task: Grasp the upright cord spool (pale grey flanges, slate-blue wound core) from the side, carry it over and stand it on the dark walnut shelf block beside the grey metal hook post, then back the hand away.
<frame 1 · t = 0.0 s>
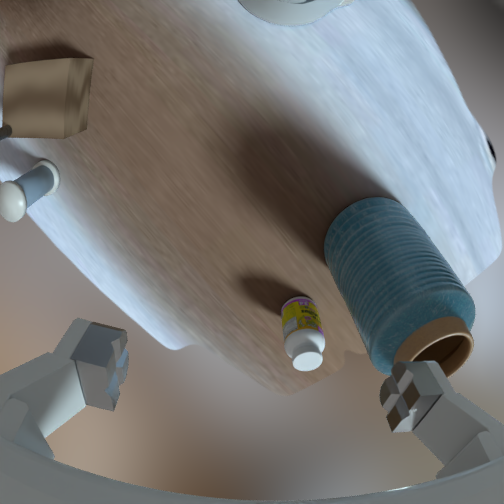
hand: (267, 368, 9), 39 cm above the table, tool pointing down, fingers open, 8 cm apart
supplement bottle: (298, 308, 58), on the table
cord spool: (46, 177, 44), on the table
walnut shelf block: (57, 94, 38), on the table
vase: (369, 239, 51), on the table
hook post: (33, 121, 39), resting on walnut shelf block
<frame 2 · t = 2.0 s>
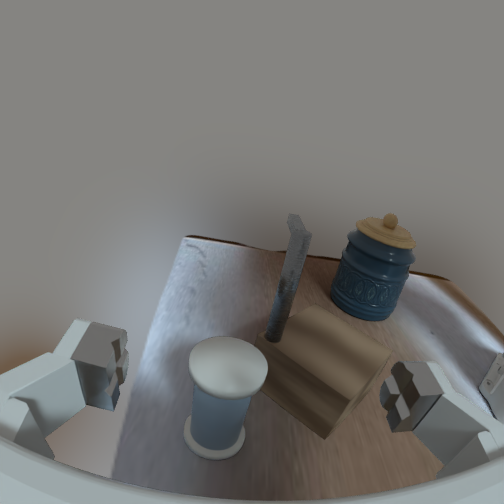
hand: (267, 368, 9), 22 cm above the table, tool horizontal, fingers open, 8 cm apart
cord spool: (213, 435, 28), on the table
walnut shelf block: (311, 386, 37), on the table
canister: (360, 303, 58), on the table
hook post: (259, 380, 36), resting on walnut shelf block
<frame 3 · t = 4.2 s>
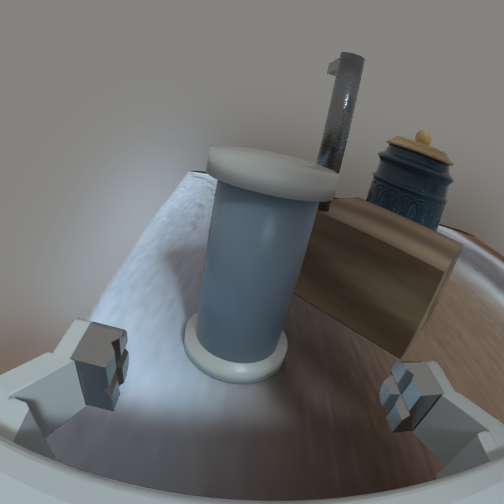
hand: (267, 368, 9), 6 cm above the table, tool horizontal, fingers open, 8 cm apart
cord spool: (234, 346, 19), on the table
walnut shelf block: (364, 297, 27), on the table
canister: (394, 236, 48), on the table
hook post: (295, 286, 27), resting on walnut shelf block
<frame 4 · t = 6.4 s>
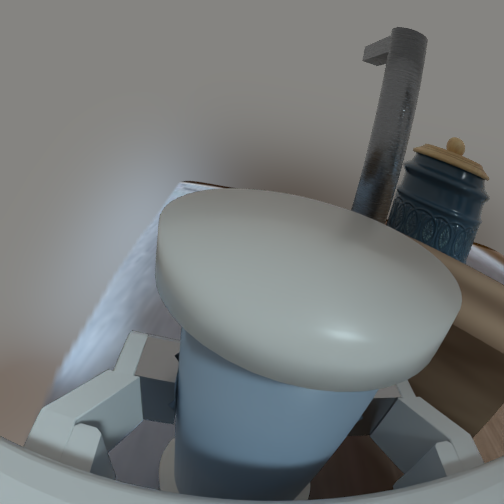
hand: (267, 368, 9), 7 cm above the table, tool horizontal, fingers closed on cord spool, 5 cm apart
cord spool: (232, 483, 11), on the table, touching gripper
walnut shelf block: (402, 367, 19), on the table
canister: (419, 261, 40), on the table
hook post: (314, 361, 19), resting on walnut shelf block
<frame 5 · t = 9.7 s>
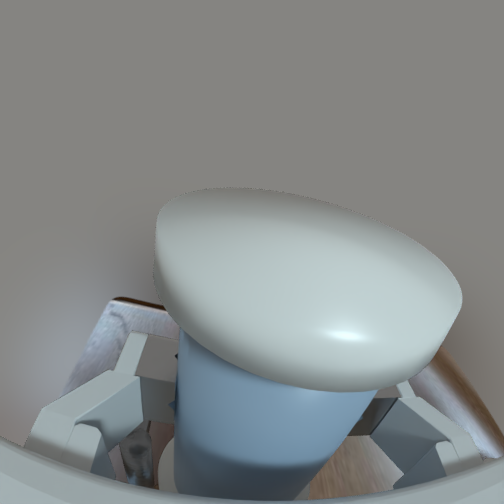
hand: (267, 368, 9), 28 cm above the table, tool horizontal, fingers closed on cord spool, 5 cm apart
cord spool: (232, 484, 11), point 22 cm above the table, touching gripper
when the fingers open (15 cm above the table, at t = 13.2 s): cord spool drops 1 cm, resting on walnut shelf block.
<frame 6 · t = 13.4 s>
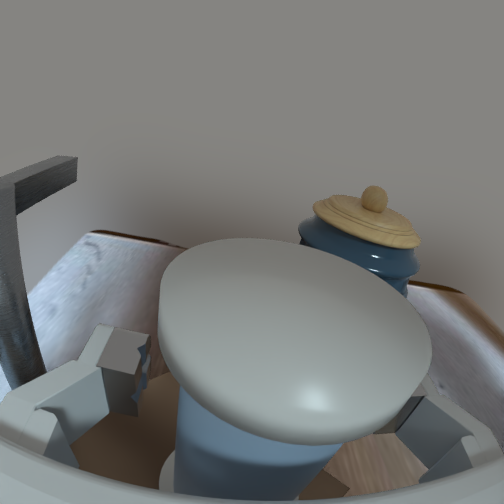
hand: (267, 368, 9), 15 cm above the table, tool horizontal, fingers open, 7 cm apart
cord spool: (227, 494, 11), point 7 cm above the table, touching walnut shelf block
canister: (326, 336, 36), on the table
hook post: (84, 487, 14), resting on walnut shelf block
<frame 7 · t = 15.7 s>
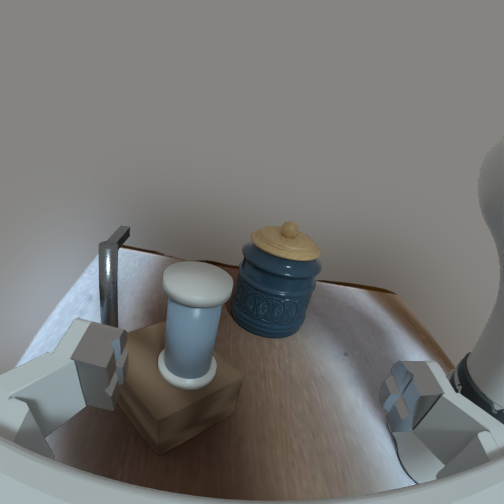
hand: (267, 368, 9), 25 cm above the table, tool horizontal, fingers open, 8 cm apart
cord spool: (186, 368, 31), point 7 cm above the table, touching walnut shelf block
walnut shelf block: (166, 400, 34), on the table
canister: (265, 317, 56), on the table
hook post: (115, 387, 34), resting on walnut shelf block
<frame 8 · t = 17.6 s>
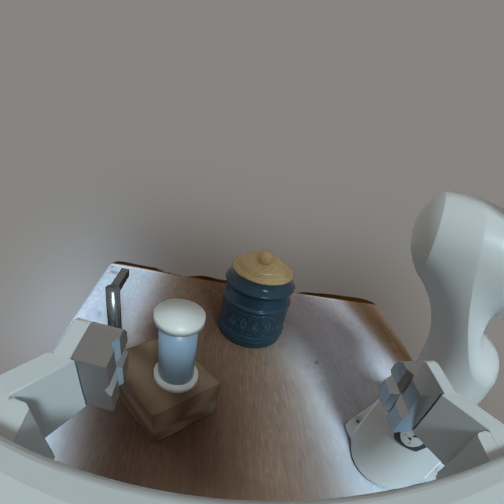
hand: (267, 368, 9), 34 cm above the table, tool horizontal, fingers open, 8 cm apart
cord spool: (175, 376, 40), point 7 cm above the table, touching walnut shelf block
walnut shelf block: (161, 400, 44), on the table
canister: (249, 329, 65), on the table
hook post: (121, 390, 43), resting on walnut shelf block
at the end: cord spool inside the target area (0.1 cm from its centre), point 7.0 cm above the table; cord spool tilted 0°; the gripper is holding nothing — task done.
